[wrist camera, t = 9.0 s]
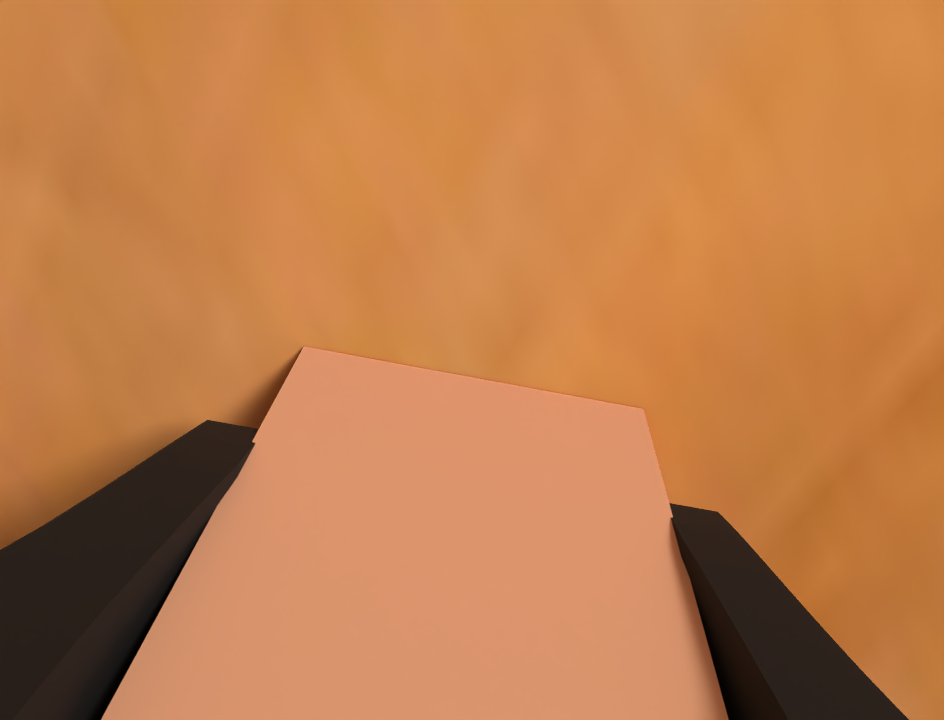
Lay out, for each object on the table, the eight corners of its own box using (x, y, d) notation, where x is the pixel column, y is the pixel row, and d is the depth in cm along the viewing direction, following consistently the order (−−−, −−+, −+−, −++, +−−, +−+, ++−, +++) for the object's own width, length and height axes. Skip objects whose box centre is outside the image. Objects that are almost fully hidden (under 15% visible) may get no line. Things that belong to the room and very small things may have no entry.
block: (564, 656, 11) (607, 1278, 6) (277, 606, 11) (61, 1196, 6) (643, 408, 10) (798, 976, 4) (303, 346, 10) (29, 850, 4)
